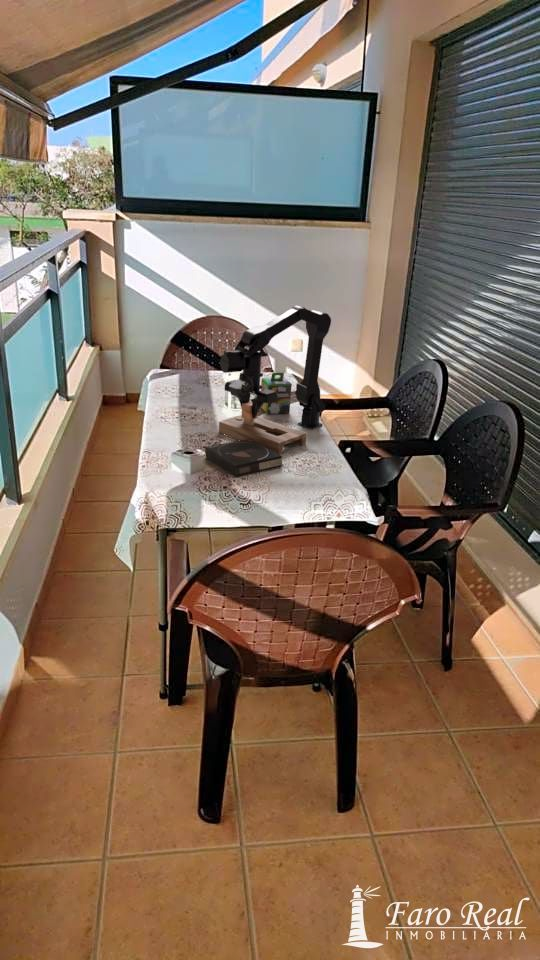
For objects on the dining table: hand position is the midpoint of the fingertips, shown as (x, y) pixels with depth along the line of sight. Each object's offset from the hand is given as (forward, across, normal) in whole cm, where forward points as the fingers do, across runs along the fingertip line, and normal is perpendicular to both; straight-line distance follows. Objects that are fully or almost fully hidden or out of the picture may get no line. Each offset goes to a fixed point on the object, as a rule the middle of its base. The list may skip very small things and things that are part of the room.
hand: (249, 416), depth 223 cm
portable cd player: (+7, +16, -20) cm, 27 cm away
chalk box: (+7, -11, +27) cm, 30 cm away
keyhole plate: (+6, +6, 0) cm, 9 cm away
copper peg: (+6, 0, 0) cm, 6 cm away
